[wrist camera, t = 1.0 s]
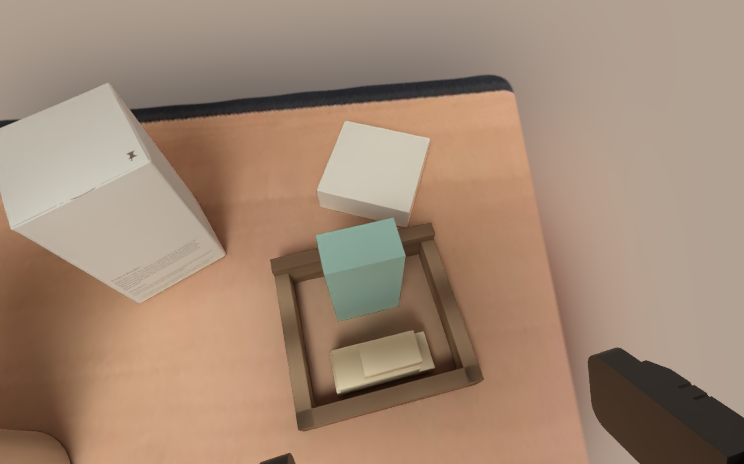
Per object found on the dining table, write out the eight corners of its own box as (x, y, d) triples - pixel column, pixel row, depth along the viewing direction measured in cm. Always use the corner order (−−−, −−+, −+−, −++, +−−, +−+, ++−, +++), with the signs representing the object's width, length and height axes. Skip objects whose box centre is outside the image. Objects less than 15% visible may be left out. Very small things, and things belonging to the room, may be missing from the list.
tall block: (398, 306, 38) (405, 255, 28) (338, 321, 37) (324, 275, 27) (389, 276, 39) (393, 217, 29) (331, 290, 38) (315, 235, 29)
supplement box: (192, 190, 44) (111, 76, 30) (228, 256, 40) (155, 159, 27) (106, 233, 41) (-23, 131, 28) (136, 307, 38) (5, 230, 25)
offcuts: (432, 370, 35) (439, 361, 31) (338, 395, 34) (333, 389, 30) (421, 335, 36) (426, 322, 33) (331, 359, 36) (325, 348, 32)
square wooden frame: (477, 384, 34) (486, 377, 31) (303, 431, 33) (295, 429, 30) (426, 239, 41) (430, 222, 37) (278, 274, 39) (270, 259, 36)
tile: (320, 207, 42) (316, 190, 40) (347, 139, 46) (345, 120, 44) (407, 228, 41) (409, 212, 39) (427, 156, 45) (430, 138, 42)
